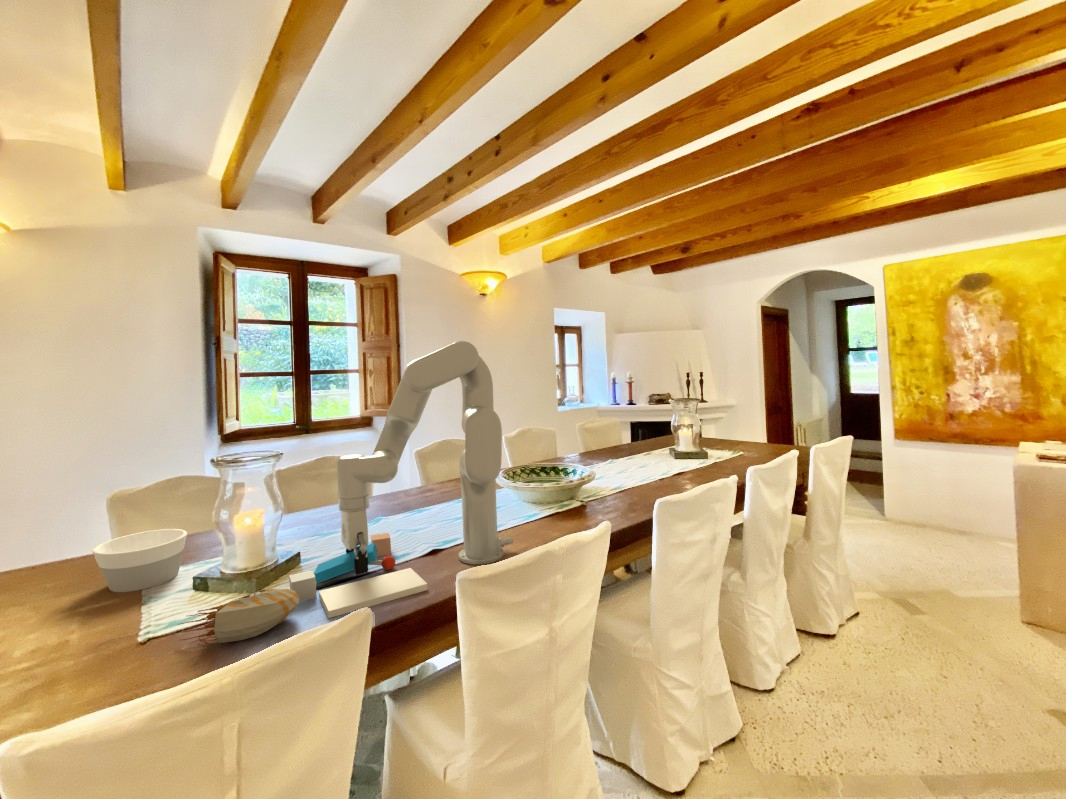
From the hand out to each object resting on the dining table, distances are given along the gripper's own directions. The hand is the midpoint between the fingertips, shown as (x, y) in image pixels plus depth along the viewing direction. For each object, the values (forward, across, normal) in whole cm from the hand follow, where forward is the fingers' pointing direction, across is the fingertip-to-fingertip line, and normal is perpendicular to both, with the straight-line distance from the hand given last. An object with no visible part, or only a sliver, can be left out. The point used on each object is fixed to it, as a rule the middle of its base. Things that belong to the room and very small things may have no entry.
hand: (357, 567), depth 125 cm
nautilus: (+2, +16, -26) cm, 31 cm away
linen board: (+1, +15, 0) cm, 15 cm away
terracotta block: (+2, -11, +9) cm, 14 cm away
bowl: (+2, -31, -47) cm, 56 cm away
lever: (+2, 0, 0) cm, 2 cm away
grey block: (+2, +6, -14) cm, 15 cm away
